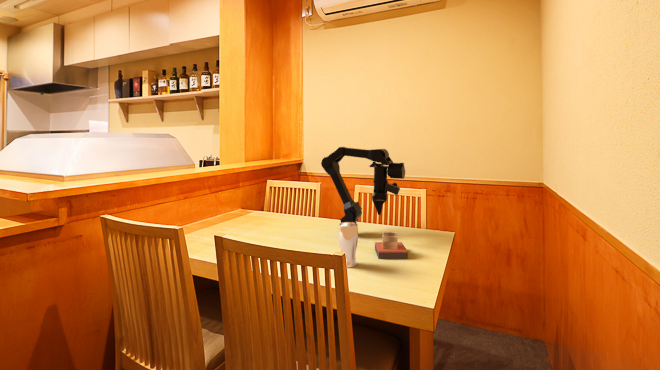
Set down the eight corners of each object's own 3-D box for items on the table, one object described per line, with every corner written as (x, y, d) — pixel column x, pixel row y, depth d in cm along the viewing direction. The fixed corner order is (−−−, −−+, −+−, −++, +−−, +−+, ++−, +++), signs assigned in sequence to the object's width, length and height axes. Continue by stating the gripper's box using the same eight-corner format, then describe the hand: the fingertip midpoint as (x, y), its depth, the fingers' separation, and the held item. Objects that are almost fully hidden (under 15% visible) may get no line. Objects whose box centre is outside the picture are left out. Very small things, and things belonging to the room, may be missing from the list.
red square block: (378, 260, 125) (378, 251, 125) (374, 250, 136) (374, 242, 136) (407, 260, 125) (407, 251, 125) (401, 250, 136) (401, 242, 136)
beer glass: (345, 259, 124) (345, 220, 122) (361, 263, 120) (361, 223, 118) (334, 265, 119) (334, 224, 117) (351, 269, 115) (351, 227, 113)
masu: (382, 248, 128) (382, 236, 127) (382, 244, 133) (382, 232, 132) (397, 249, 127) (397, 236, 126) (396, 244, 132) (396, 232, 132)
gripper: (399, 180, 134) (398, 218, 137) (398, 175, 153) (397, 208, 155) (372, 180, 136) (371, 217, 139) (374, 175, 155) (373, 207, 157)
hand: (379, 212), depth 147 cm, fingers open, 9 cm apart
